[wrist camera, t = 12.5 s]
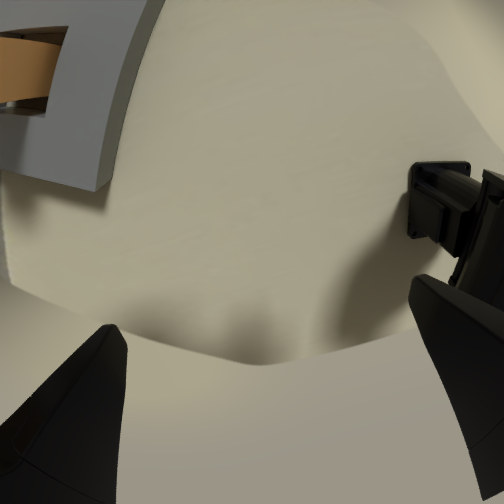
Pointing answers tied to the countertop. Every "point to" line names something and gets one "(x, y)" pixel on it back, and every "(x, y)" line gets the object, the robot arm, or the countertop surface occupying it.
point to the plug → (26, 68)
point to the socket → (76, 87)
